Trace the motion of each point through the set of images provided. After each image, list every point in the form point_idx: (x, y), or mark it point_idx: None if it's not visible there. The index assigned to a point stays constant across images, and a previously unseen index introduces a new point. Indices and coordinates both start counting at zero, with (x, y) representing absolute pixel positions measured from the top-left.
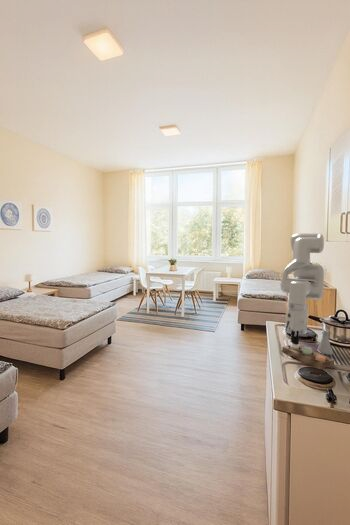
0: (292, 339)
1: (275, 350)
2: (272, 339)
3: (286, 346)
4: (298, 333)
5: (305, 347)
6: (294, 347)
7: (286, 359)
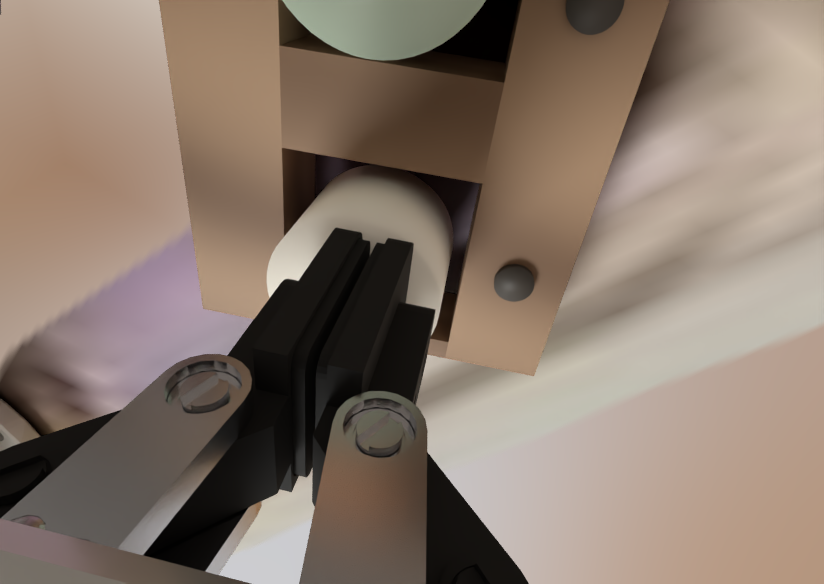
0: (420, 380)
1: (574, 385)
2: (305, 513)
3: (469, 344)
4: (212, 442)
5: (348, 1)
6: (437, 233)
7: (819, 125)
